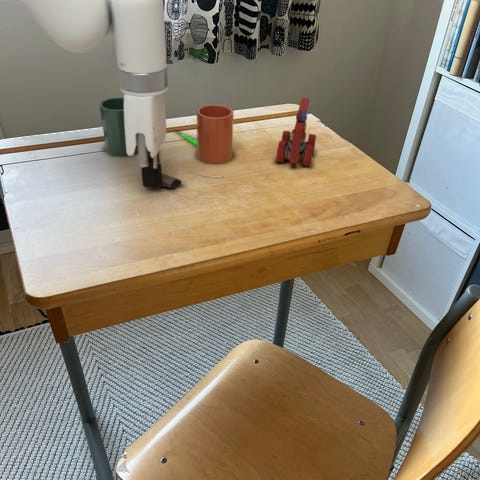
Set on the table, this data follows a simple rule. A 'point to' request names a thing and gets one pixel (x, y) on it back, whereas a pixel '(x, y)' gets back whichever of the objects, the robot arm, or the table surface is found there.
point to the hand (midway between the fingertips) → (153, 185)
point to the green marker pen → (190, 139)
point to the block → (170, 181)
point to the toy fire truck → (297, 139)
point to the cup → (214, 133)
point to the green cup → (114, 125)
